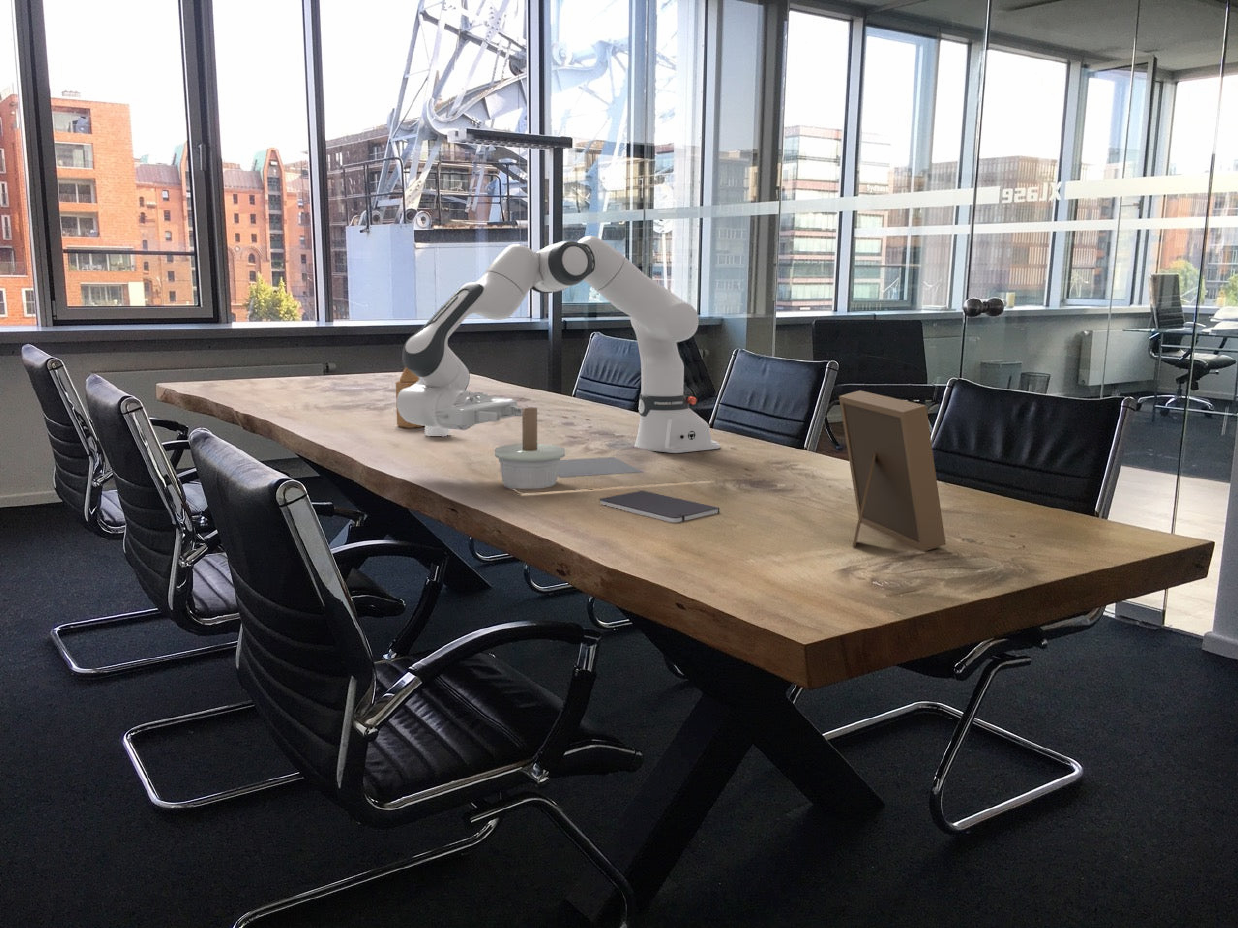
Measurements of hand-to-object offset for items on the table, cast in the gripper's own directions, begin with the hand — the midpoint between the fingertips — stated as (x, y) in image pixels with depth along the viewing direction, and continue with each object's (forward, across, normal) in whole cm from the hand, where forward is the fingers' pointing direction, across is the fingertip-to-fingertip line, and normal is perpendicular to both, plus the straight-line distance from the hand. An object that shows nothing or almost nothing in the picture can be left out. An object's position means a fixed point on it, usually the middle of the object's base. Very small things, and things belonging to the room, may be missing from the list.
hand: (510, 414), depth 225 cm
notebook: (+38, -4, +16) cm, 41 cm away
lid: (+5, 0, +8) cm, 10 cm away
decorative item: (-72, +52, +15) cm, 90 cm away
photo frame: (+81, -4, +15) cm, 83 cm away
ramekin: (+5, 0, +16) cm, 16 cm away
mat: (+6, +23, +15) cm, 28 cm away
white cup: (-55, +44, +15) cm, 72 cm away
